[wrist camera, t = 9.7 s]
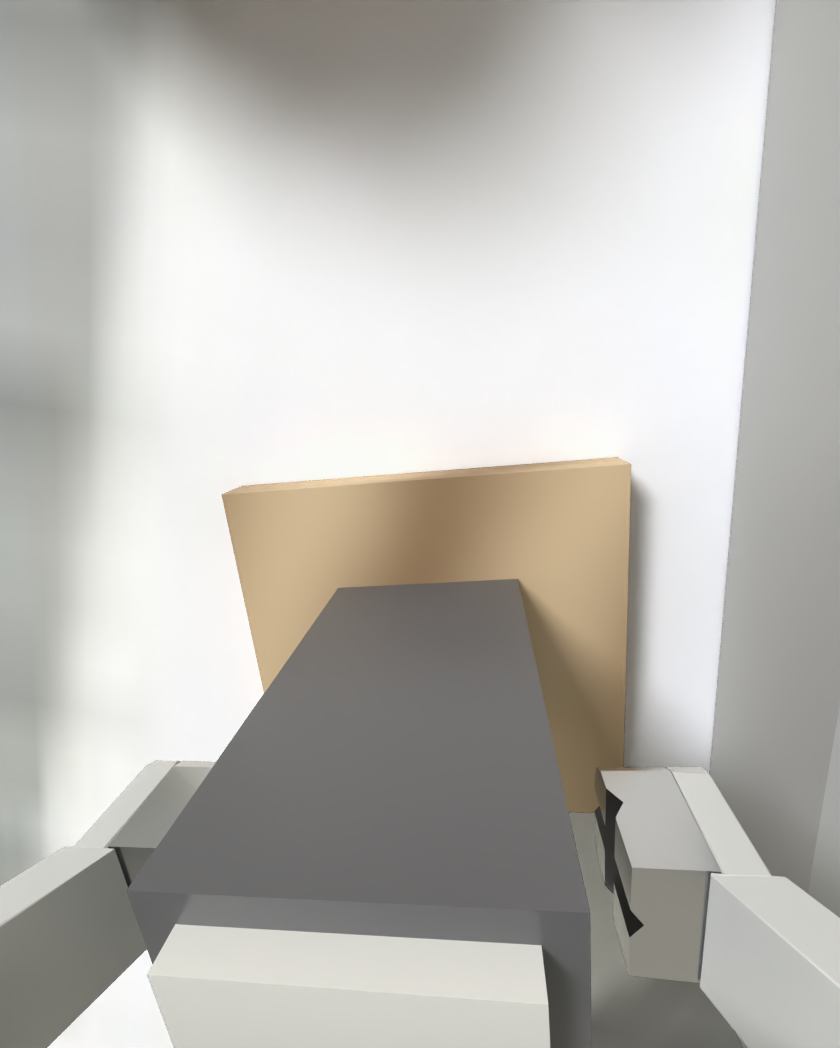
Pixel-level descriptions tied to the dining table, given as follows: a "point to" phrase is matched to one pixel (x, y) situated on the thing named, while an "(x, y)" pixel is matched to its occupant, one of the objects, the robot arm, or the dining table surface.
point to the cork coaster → (462, 573)
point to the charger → (380, 846)
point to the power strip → (789, 482)
